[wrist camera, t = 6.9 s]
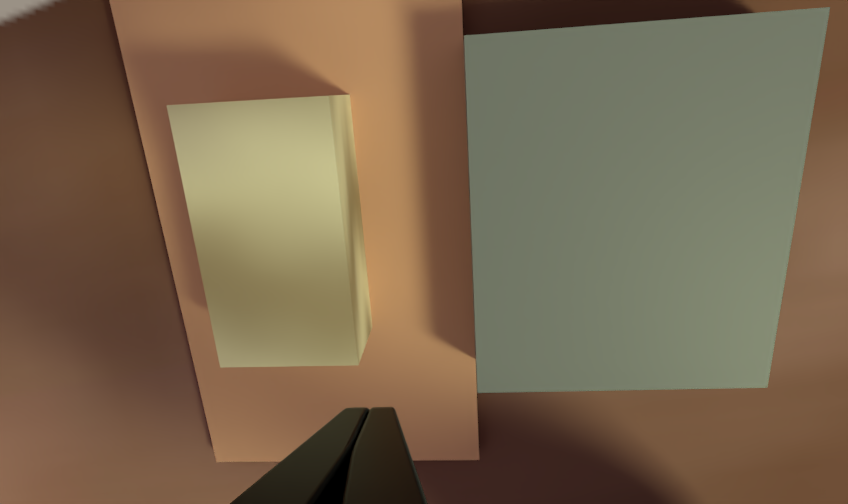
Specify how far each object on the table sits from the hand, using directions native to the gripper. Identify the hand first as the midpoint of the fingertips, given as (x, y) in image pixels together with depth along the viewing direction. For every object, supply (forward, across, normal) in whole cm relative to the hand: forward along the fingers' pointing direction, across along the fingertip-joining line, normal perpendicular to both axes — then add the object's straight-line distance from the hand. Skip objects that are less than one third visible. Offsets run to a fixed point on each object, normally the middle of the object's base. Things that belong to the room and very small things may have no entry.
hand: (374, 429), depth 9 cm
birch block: (+10, +5, -1) cm, 11 cm away
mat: (+12, +4, -1) cm, 12 cm away
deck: (+12, -7, -1) cm, 14 cm away
